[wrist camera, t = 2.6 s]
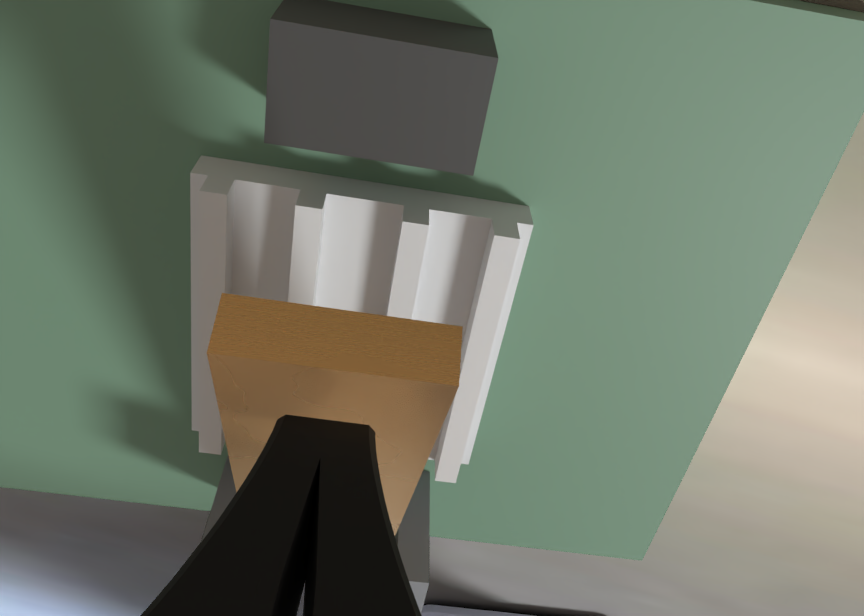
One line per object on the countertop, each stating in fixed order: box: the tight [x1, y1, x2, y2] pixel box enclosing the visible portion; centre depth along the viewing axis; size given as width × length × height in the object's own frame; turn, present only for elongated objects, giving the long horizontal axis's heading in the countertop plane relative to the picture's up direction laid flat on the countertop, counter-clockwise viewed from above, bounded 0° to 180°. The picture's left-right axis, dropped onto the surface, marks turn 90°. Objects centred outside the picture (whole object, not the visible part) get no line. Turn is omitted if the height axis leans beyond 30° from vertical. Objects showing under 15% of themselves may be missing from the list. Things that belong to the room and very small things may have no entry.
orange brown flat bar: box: [207, 293, 463, 535], centre depth 17 cm, size 14×4×1 cm, turn 170°
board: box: [0, 0, 864, 612], centre depth 20 cm, size 18×22×5 cm
